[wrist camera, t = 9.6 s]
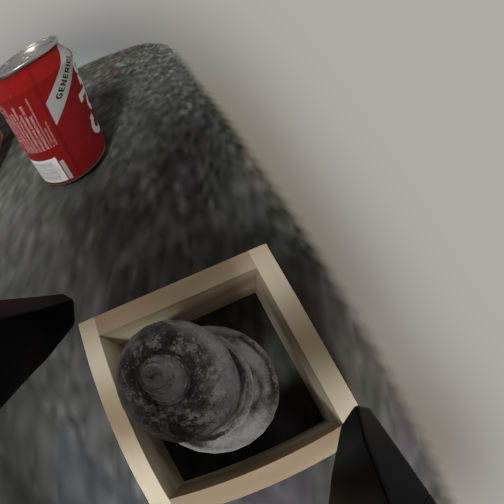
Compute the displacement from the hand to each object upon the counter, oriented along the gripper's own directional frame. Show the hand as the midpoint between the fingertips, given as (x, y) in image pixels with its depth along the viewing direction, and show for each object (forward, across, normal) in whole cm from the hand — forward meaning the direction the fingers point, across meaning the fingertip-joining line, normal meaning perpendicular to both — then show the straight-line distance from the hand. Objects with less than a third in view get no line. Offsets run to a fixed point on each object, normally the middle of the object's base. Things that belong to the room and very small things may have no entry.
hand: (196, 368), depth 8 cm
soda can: (+14, +19, -2) cm, 24 cm away
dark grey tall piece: (+6, 0, +6) cm, 9 cm away
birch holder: (+6, 0, +6) cm, 8 cm away
